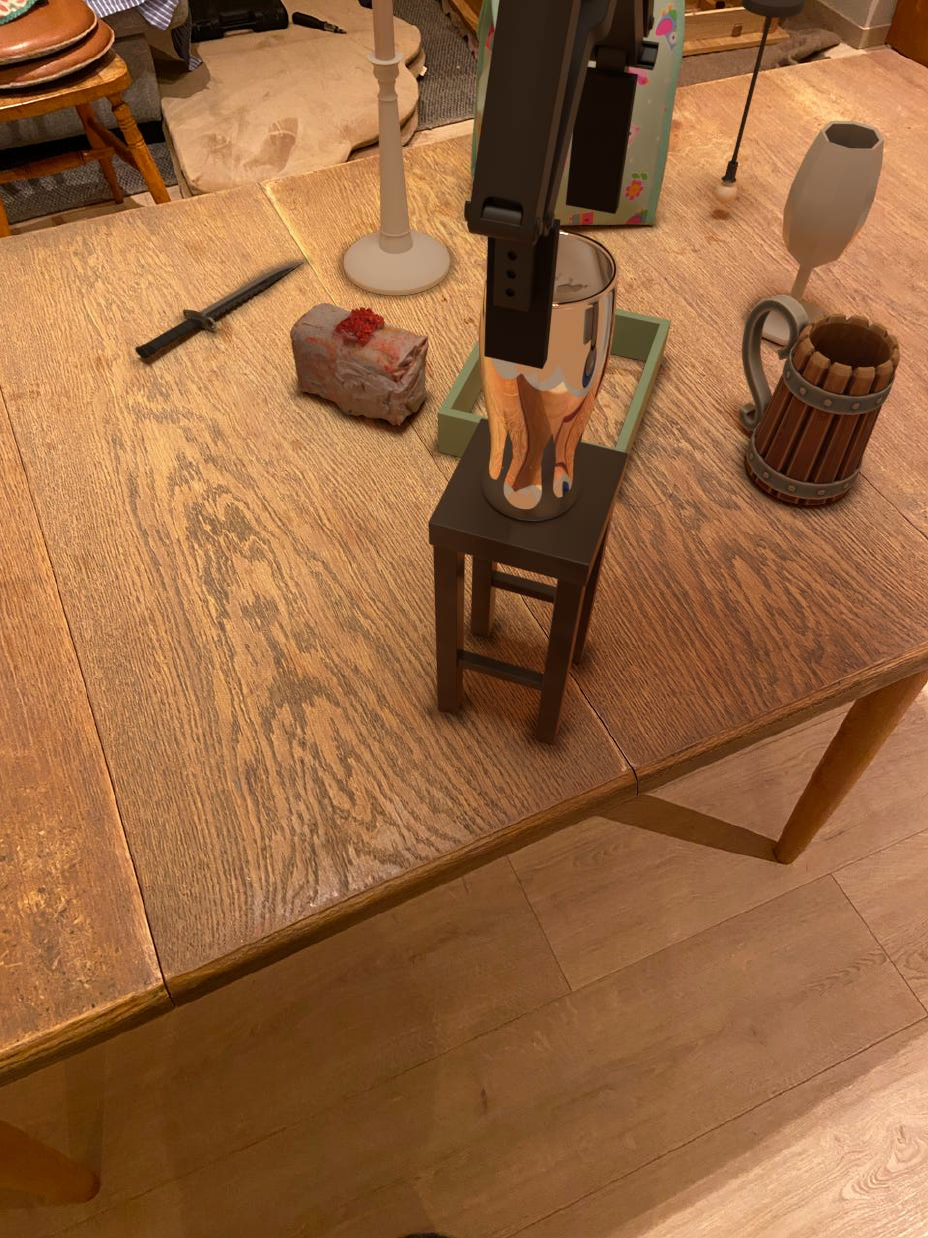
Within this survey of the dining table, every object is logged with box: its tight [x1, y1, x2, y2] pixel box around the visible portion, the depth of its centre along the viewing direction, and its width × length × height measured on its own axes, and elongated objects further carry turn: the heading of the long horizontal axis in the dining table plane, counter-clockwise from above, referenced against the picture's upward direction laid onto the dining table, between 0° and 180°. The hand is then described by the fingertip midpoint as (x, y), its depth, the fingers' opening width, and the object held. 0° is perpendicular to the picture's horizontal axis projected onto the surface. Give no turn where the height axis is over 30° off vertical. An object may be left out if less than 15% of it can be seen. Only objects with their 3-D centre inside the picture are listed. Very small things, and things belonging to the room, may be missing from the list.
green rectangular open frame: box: [437, 308, 672, 458], centre depth 91 cm, size 18×22×5 cm
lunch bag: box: [470, 0, 686, 227], centre depth 106 cm, size 23×16×27 cm
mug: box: [737, 293, 901, 506], centre depth 83 cm, size 16×11×15 cm
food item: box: [289, 302, 430, 427], centre depth 90 cm, size 14×8×10 cm, turn 64°
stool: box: [427, 418, 629, 745], centre depth 64 cm, size 10×10×22 cm
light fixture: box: [714, 0, 808, 205], centre depth 105 cm, size 7×7×25 cm
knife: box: [134, 261, 304, 360], centre depth 102 cm, size 25×2×5 cm
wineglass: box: [748, 120, 885, 346], centre depth 93 cm, size 9×9×21 cm
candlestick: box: [343, 0, 451, 296], centre depth 96 cm, size 13×13×30 cm
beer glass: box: [477, 229, 620, 521], centre depth 49 cm, size 7×7×15 cm
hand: (557, 276), depth 44 cm, fingers open, 13 cm apart
